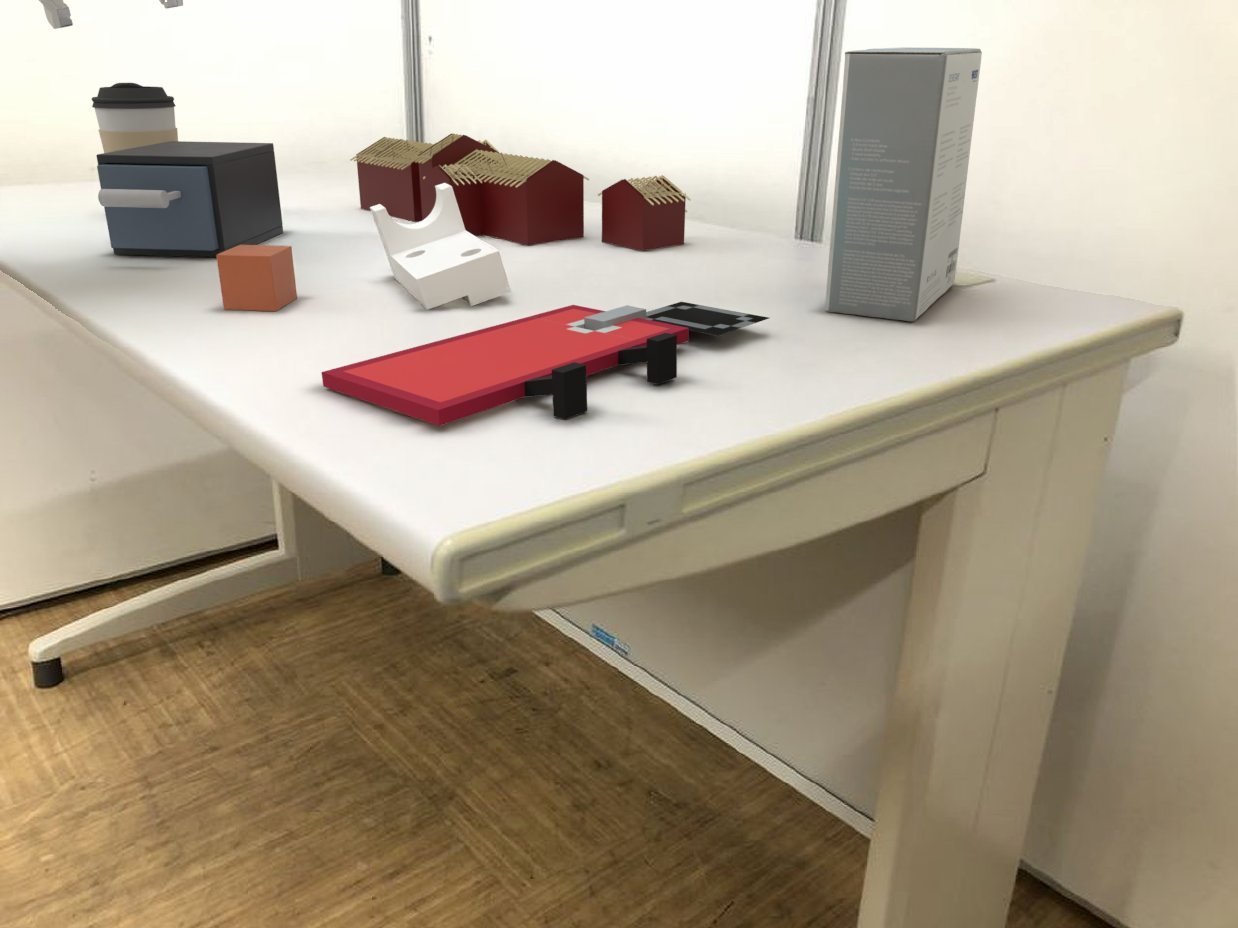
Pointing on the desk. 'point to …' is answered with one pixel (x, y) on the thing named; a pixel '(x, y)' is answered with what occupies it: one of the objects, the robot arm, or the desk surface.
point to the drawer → (158, 206)
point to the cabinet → (220, 189)
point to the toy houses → (515, 194)
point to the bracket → (441, 255)
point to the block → (257, 277)
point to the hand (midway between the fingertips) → (117, 14)
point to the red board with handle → (530, 360)
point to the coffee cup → (134, 116)
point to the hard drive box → (900, 178)
